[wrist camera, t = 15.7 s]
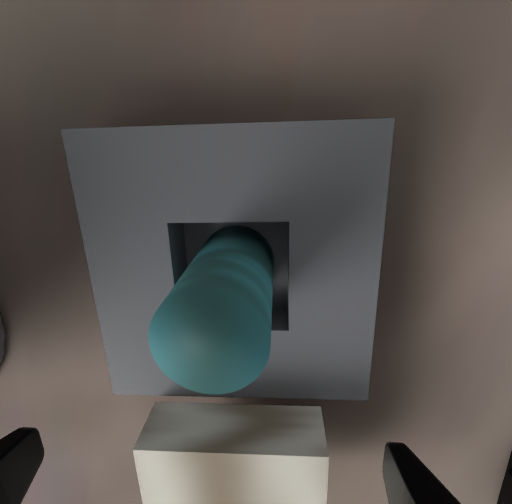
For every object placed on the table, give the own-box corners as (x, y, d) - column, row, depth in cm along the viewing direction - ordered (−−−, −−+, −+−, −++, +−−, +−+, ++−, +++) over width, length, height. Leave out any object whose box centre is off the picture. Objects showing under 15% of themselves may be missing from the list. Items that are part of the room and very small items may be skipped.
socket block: (372, 122, 17) (395, 117, 13) (353, 359, 21) (367, 400, 18) (101, 131, 18) (60, 128, 14) (138, 356, 22) (113, 394, 19)
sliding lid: (320, 406, 18) (328, 457, 15) (315, 523, 21) (322, 585, 18) (155, 402, 18) (132, 450, 16) (172, 516, 21) (156, 575, 18)
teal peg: (273, 224, 18) (269, 287, 10) (274, 293, 19) (271, 395, 11) (198, 225, 18) (140, 287, 10) (204, 293, 19) (156, 392, 12)
